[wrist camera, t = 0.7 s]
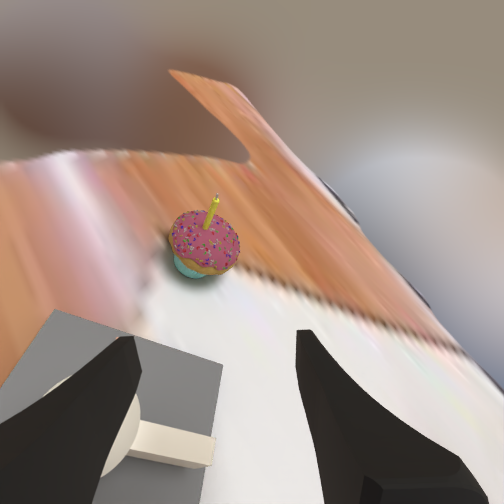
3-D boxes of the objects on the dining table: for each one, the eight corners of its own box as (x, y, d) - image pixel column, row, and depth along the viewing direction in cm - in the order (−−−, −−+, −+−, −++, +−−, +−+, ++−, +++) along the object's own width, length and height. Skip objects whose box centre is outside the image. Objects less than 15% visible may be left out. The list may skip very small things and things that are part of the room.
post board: (180, 567, 20) (192, 573, 18) (-99, 543, 15) (-115, 549, 14) (216, 369, 30) (227, 361, 28) (53, 316, 25) (55, 303, 23)
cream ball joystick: (0, 479, 16) (-6, 476, 14) (59, 374, 21) (62, 358, 18) (185, 508, 20) (206, 509, 17) (204, 413, 24) (223, 403, 22)
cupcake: (164, 293, 32) (207, 226, 24) (153, 233, 36) (186, 158, 28) (230, 289, 37) (283, 233, 29) (213, 237, 41) (256, 175, 33)
